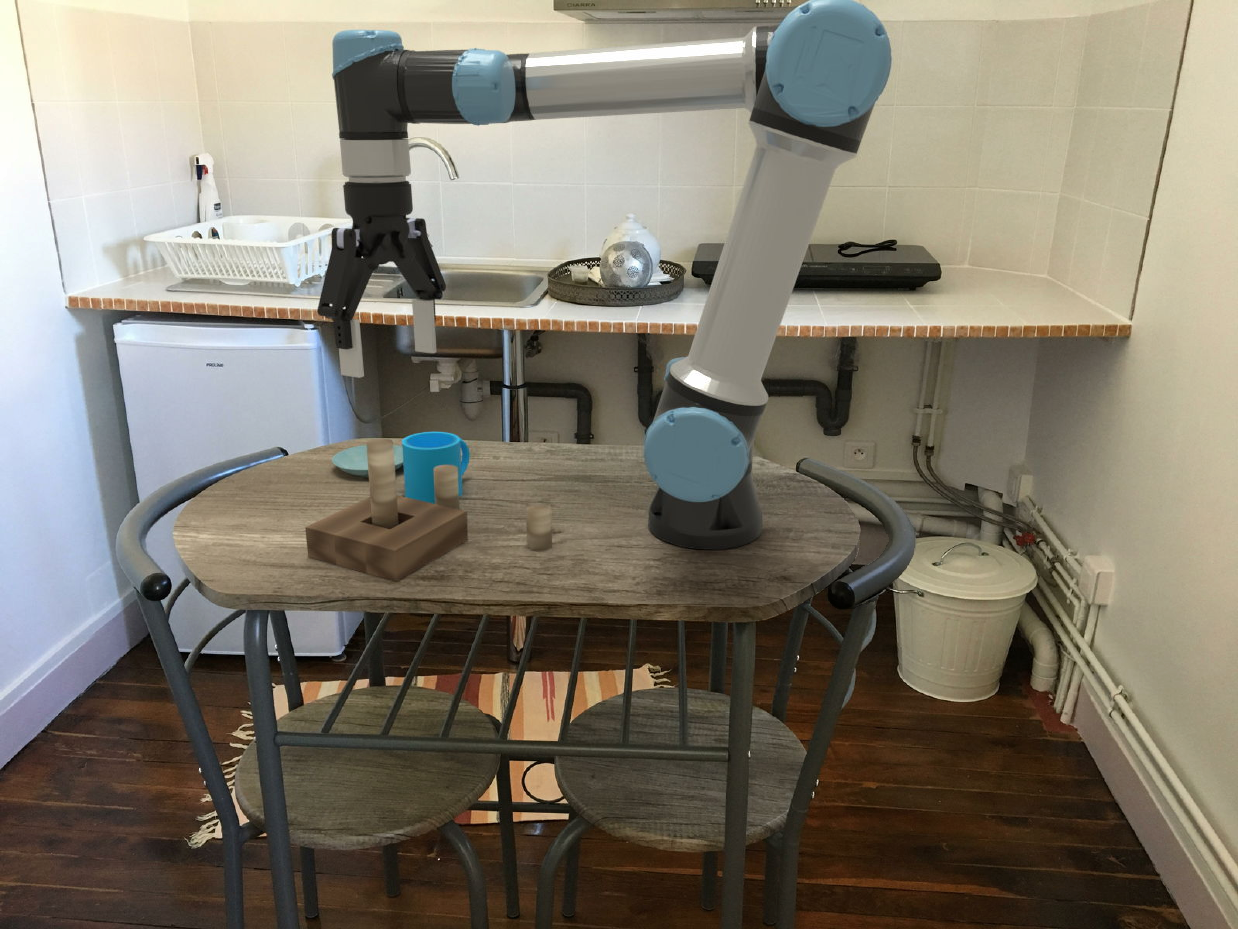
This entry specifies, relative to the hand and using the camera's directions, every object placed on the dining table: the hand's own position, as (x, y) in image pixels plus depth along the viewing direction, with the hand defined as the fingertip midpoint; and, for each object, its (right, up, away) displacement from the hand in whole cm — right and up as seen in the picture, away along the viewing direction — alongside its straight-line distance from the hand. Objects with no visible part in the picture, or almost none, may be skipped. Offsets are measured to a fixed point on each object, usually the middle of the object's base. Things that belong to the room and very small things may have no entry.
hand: (391, 363), depth 121 cm
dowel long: (-2, -23, +7) cm, 24 cm away
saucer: (-11, -13, +35) cm, 39 cm away
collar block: (-2, -23, +7) cm, 24 cm away
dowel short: (+17, -22, +8) cm, 29 cm away
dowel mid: (+4, -19, +17) cm, 26 cm away
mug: (+2, -16, +27) cm, 31 cm away
